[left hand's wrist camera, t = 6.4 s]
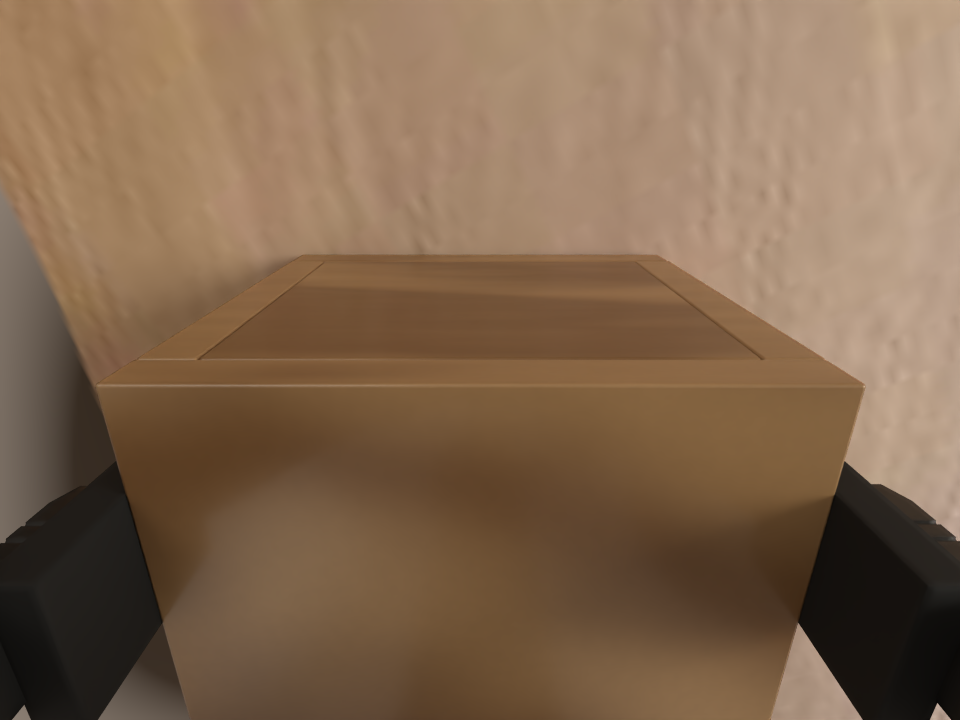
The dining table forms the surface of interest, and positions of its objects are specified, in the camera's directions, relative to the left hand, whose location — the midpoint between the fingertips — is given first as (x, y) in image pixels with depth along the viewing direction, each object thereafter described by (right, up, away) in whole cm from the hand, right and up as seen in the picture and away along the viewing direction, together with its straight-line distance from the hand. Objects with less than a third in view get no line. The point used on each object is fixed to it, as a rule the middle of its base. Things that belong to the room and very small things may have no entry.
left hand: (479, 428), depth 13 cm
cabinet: (0, -3, +7) cm, 7 cm away
